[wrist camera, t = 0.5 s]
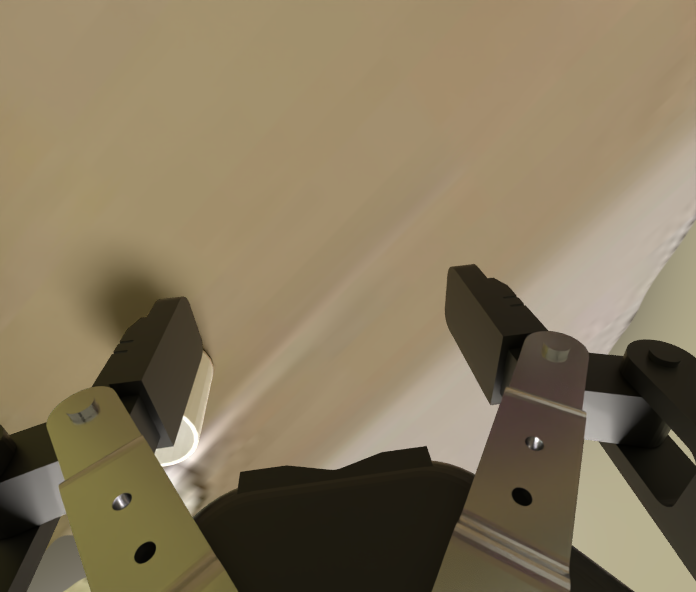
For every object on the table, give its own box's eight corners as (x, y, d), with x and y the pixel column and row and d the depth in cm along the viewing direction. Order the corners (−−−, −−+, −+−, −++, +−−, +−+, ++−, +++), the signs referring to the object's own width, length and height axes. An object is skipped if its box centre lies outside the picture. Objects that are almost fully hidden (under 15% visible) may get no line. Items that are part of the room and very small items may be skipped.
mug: (222, 391, 49) (205, 463, 40) (148, 396, 48) (114, 470, 39) (208, 318, 43) (184, 383, 35) (124, 322, 42) (77, 389, 34)
